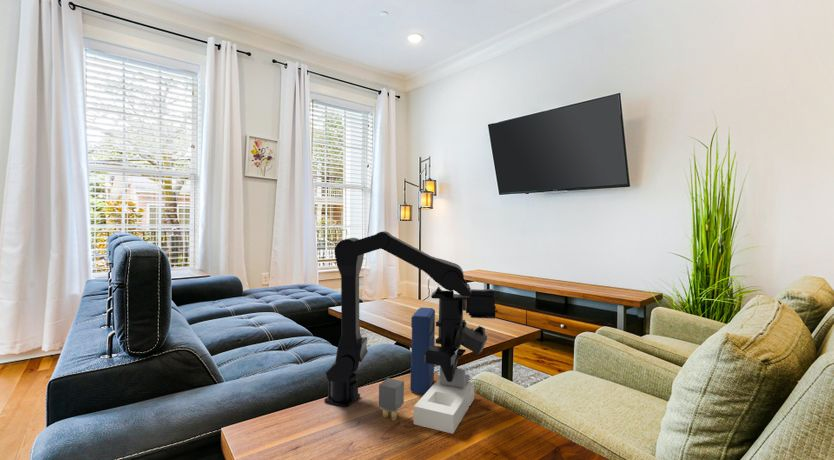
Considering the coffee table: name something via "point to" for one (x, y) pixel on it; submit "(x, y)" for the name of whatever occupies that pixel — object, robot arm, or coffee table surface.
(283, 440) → the coffee table surface
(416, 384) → the electronic device
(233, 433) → the coffee table surface
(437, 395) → the power strip
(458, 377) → the grey block
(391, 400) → the plug
